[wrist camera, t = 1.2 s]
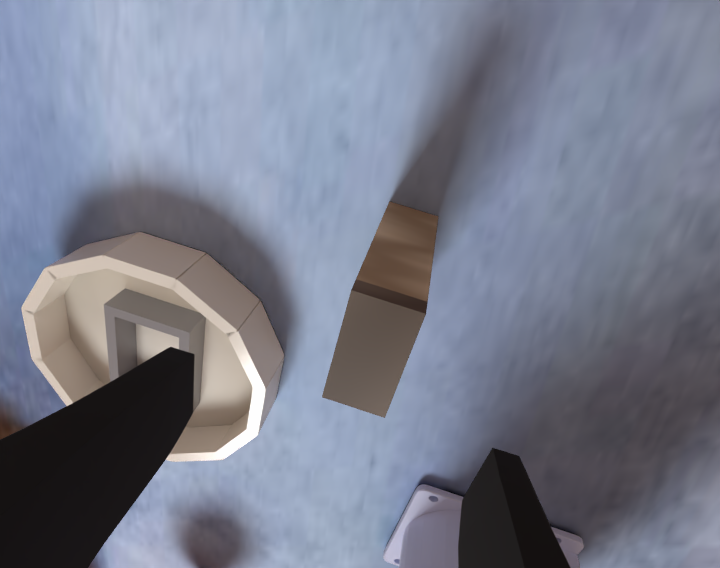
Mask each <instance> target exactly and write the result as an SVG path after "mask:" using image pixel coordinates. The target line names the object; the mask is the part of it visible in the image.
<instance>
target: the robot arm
mask: <svg viewBox="0 0 720 568" xmlns="http://www.w3.org/2000/svg"><path fill="white" fill-rule="evenodd" d="M194 361H195V354H193V353H189V352H186V351H183V350H180V349H177V348H173V347H169V348H167V349H165V350H164V351H162V352H160V353H158V354H157V355H155V356H153V357H152V358H150V359H148V360H147V361H145V362H143V363H142V364H140V365H138V366H137V367H135V368H133V369H131V370H130V371H128V372H126V373H125V374H123V375H121V376H120V377H118V378H116V379H115V380H113V381H111V382H109V383H108V384H106V385H104V386H102V387H101V388H99V389H97V390H95V391H93V392H92V393H90V394H88V395H86V396H85V397H83V398H81V399H79V400H77V401H76V402H74V403H72V404H70V405H68V406H66V407H64V408H63V409H61V410H59V411H57V412H55V413H53V414H51V415H49V416H47V417H45V418H43V419H41V420H39V421H37V422H35V423H34V424H32V425H30V426H28V427H26V428H24V429H22V430H20V431H18V432H15V433H13V434H11V435H9V436H7V437H5V438H3V439H1V440H0V568H88V567H89V565H90V564H91V562H92V561H93V559H94V558H95V556H96V555H97V553H98V552H99V550H100V549H101V547H102V546H103V544H104V543H105V542H106V540H107V539H108V537H109V536H110V535H111V533H112V532H113V531H114V529H115V528H116V526H117V525H118V524H119V522H120V521H121V520H122V518H123V517H124V516H125V514H126V513H127V512H128V510H129V509H130V507H131V506H132V505H133V503H134V502H135V501H136V499H137V498H138V497H139V495H140V494H141V493H142V491H143V490H144V488H145V487H146V486H147V484H148V483H149V482H150V480H151V479H152V478H153V476H154V475H155V473H156V472H157V471H158V469H159V468H160V467H161V465H162V464H163V462H164V461H165V460H166V458H167V457H168V455H169V454H170V453H171V451H172V449H173V448H174V446H175V444H176V443H177V441H178V439H179V437H180V436H181V434H182V432H183V430H184V429H185V427H186V425H187V423H188V421H189V420H190V418H191V416H192V414H193V398H194ZM583 548H584V545H583V540H582V538H581V537H579V536H577V535H574V534H571V533H568V532H565V531H562V530H559V529H556V528H553V527H551V526H550V524H549V522H548V519H547V517H546V515H545V513H544V511H543V508H542V506H541V504H540V502H539V500H538V497H537V495H536V493H535V491H534V488H533V486H532V484H531V481H530V479H529V477H528V475H527V472H526V470H525V468H524V466H523V463H522V461H521V459H520V457H519V456H517V455H514V454H510V453H507V452H504V451H501V450H498V449H494V448H492V450H491V451H490V453H489V455H488V456H487V458H486V460H485V462H484V463H483V465H482V467H481V469H480V470H479V472H478V474H477V475H476V477H475V479H474V481H473V482H472V484H471V486H470V487H469V489H468V491H467V493H466V494H465V496H464V497H462V496H459V495H456V494H453V493H450V492H447V491H444V490H441V489H438V488H435V487H432V486H429V485H425V484H423V485H419V486H418V487H417V488H416V490H415V492H414V494H413V496H412V498H411V499H410V501H409V503H408V505H407V507H406V509H405V511H404V513H403V515H402V517H401V519H400V521H399V523H398V525H397V527H396V529H395V530H394V532H393V534H392V536H391V538H390V540H389V542H388V544H387V546H386V548H385V550H384V554H383V558H384V560H385V561H387V562H389V563H392V564H395V565H397V566H399V568H580V564H579V560H578V555H577V554H578V553H579V552H580V551H581V550H582V549H583Z"/></svg>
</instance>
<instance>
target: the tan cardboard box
mask: <svg viewBox="0 0 720 568" xmlns="http://www.w3.org/2000/svg"><path fill="white" fill-rule="evenodd" d="M437 224H438V216H435V215H432V214H429V213H425V212H422V211H419V210H416V209H412V208H409V207H406V206H403V205H399V204H396V203H393V202H390V201H389V204H388V206H387V208H386V211H385V213H384V215H383V218H382V220H381V222H380V225H379V227H378V229H377V232H376V234H375V236H374V239H373V241H372V243H371V246H370V248H369V250H368V253H367V255H366V257H365V260H364V262H363V264H362V267H361V269H360V271H359V274H358V276H357V278H356V281H355V283H354V285H353V288H352V290H351V294H350V297H349V301H348V304H347V308H346V312H345V315H344V319H343V323H342V326H341V330H340V334H339V337H338V341H337V344H336V348H335V352H334V355H333V359H332V363H331V366H330V370H329V374H328V377H327V381H326V384H325V388H324V392H323V395H322V397H323V398H327V399H330V400H333V401H336V402H339V403H342V404H345V405H348V406H351V407H354V408H357V409H360V410H363V411H366V412H369V413H372V414H375V415H378V416H381V417H384V418H385V416H386V413H387V411H388V408H389V406H390V403H391V401H392V398H393V396H394V393H395V391H396V388H397V386H398V383H399V381H400V378H401V375H402V373H403V370H404V368H405V365H406V363H407V360H408V358H409V355H410V353H411V350H412V348H413V345H414V343H415V340H416V338H417V335H418V333H419V330H420V328H421V325H422V322H423V320H424V317H425V315H426V309H427V302H428V294H429V286H430V278H431V270H432V263H433V255H434V247H435V239H436V232H437Z"/></svg>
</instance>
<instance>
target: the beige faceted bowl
mask: <svg viewBox="0 0 720 568" xmlns="http://www.w3.org/2000/svg"><path fill="white" fill-rule="evenodd" d="M21 309H22V314H23V319H24V324H25V329H26V334H27V339H28V343H29V348H30V353H31V358H32V360H33V361H34V363H35V364H36V365H37V367H38V368H39V369H40V371H41V372H42V373H43V375H44V376H45V377H46V379H47V380H48V381H49V383H50V384H51V385H52V387H53V388H54V390H55V391H56V392H57V394H58V395H59V396H60V398H61V399H62V400H63V402H64V403H65V404H66V406H68V405H70V404H72V403H74V402H76V401H77V400H79V399H81V398H83V397H85V396H86V395H88V394H90V393H92V392H93V391H95V390H97V389H99V388H101V387H102V386H104V385H106V384H108V383H109V382H111V381H113V380H115V379H116V378H118V377H120V376H121V375H123V374H125V373H126V372H128V371H130V370H131V369H133V368H135V367H137V366H138V365H140V364H142V363H143V362H145V361H147V360H148V359H150V358H152V357H153V356H155V355H157V354H158V353H160V352H162V351H164V350H165V349H167V348H169V347H173V348H177V349H180V350H183V351H186V352H189V353H193V354H195V361H194V398H193V414H192V416H191V418H190V420H189V421H188V423H187V425H186V427H185V429H184V430H183V432H182V434H181V436H180V437H179V439H178V441H177V443H176V444H175V446H174V448H173V449H172V451H171V453H170V454H169V455H168V457H167V458H166V460H169V461H173V462H178V461H207V460H222V459H225V458H226V457H227V456H229V455H230V454H232V453H233V452H235V451H236V450H238V449H239V448H240V447H242V446H243V445H245V444H246V443H248V442H249V441H250V440H252V439H253V438H255V437H256V436H257V435H258V433H259V431H260V430H261V428H262V426H263V424H264V422H265V420H266V418H267V416H268V414H269V412H270V410H271V408H272V406H273V404H274V402H275V400H276V396H277V391H278V386H279V381H280V376H281V371H282V366H283V361H284V353H283V351H282V348H281V346H280V344H279V341H278V339H277V337H276V335H275V332H274V330H273V328H272V325H271V323H270V321H269V318H268V316H267V314H266V312H265V309H264V307H263V305H262V302H261V301H260V299H258V298H257V297H256V296H255V295H254V294H253V293H252V292H250V291H249V290H248V289H247V288H246V287H245V286H244V285H242V284H241V283H240V282H239V281H238V280H237V279H236V278H235V277H233V276H232V275H231V274H230V273H229V272H228V271H227V270H225V269H224V268H223V267H222V266H221V265H220V264H219V263H217V262H216V261H215V260H214V259H213V258H212V257H211V256H209V255H208V254H206V253H205V252H202V251H199V250H196V249H193V248H190V247H186V246H183V245H180V244H177V243H174V242H171V241H168V240H164V239H161V238H158V237H155V236H152V235H149V234H146V233H143V232H137V233H133V234H128V235H124V236H120V237H115V238H111V239H107V240H103V241H98V242H94V243H90V244H86V245H85V246H83V247H81V248H79V249H78V250H76V251H74V252H72V253H70V254H69V255H67V256H65V257H63V258H62V259H60V260H58V261H56V262H54V263H53V264H51V265H49V266H47V267H46V268H44V270H43V272H42V274H41V275H40V277H39V279H38V280H37V282H36V284H35V285H34V287H33V289H32V290H31V292H30V294H29V296H28V297H27V299H26V301H25V302H24V304H23V306H22V307H21Z"/></svg>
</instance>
